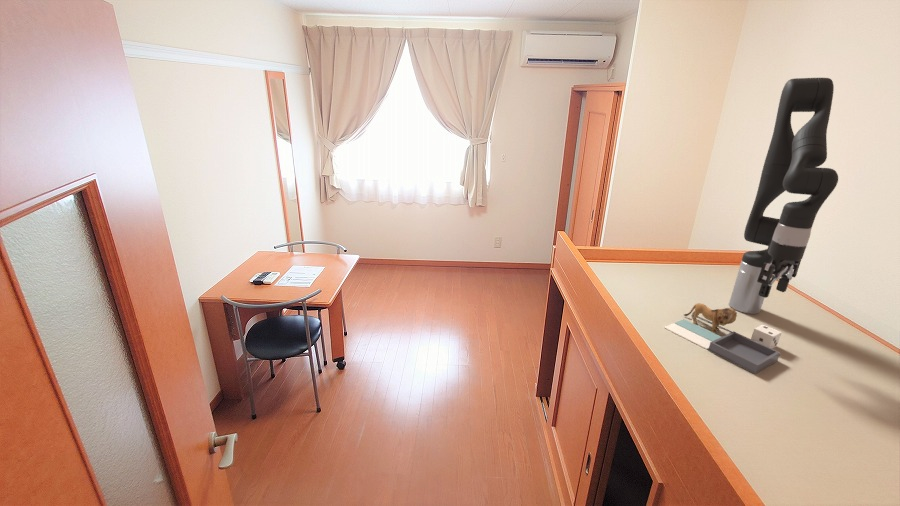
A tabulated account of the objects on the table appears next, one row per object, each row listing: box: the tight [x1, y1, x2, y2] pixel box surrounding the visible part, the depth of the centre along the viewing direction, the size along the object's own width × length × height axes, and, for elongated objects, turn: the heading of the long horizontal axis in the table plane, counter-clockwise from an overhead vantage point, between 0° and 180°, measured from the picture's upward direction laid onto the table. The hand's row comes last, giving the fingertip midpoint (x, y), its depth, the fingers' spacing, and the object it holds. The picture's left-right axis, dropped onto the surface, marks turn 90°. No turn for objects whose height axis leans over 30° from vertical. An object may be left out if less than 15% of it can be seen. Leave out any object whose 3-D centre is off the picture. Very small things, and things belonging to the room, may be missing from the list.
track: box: [663, 315, 733, 350], centre depth 127 cm, size 17×14×1 cm
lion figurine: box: [683, 302, 738, 334], centre depth 129 cm, size 15×5×9 cm, turn 34°
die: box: [750, 324, 782, 349], centre depth 120 cm, size 5×5×5 cm
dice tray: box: [707, 331, 781, 375], centre depth 115 cm, size 12×12×3 cm
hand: (771, 293), depth 115 cm, fingers open, 8 cm apart
